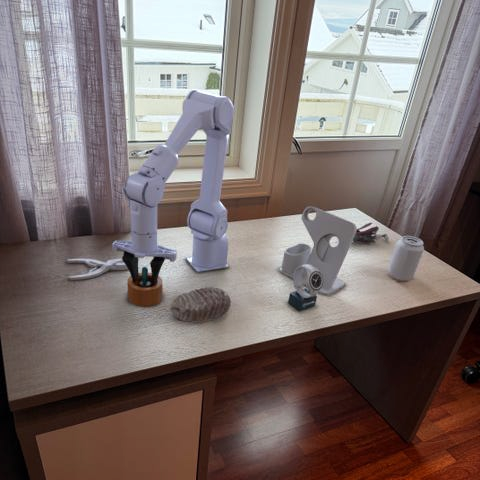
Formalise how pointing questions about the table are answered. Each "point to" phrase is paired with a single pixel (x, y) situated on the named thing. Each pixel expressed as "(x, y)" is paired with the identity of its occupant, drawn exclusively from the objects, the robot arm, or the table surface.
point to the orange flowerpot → (144, 291)
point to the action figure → (368, 234)
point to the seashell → (201, 304)
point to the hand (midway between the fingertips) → (145, 282)
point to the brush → (145, 278)
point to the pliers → (109, 265)
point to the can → (406, 258)
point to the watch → (305, 297)
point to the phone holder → (321, 249)
